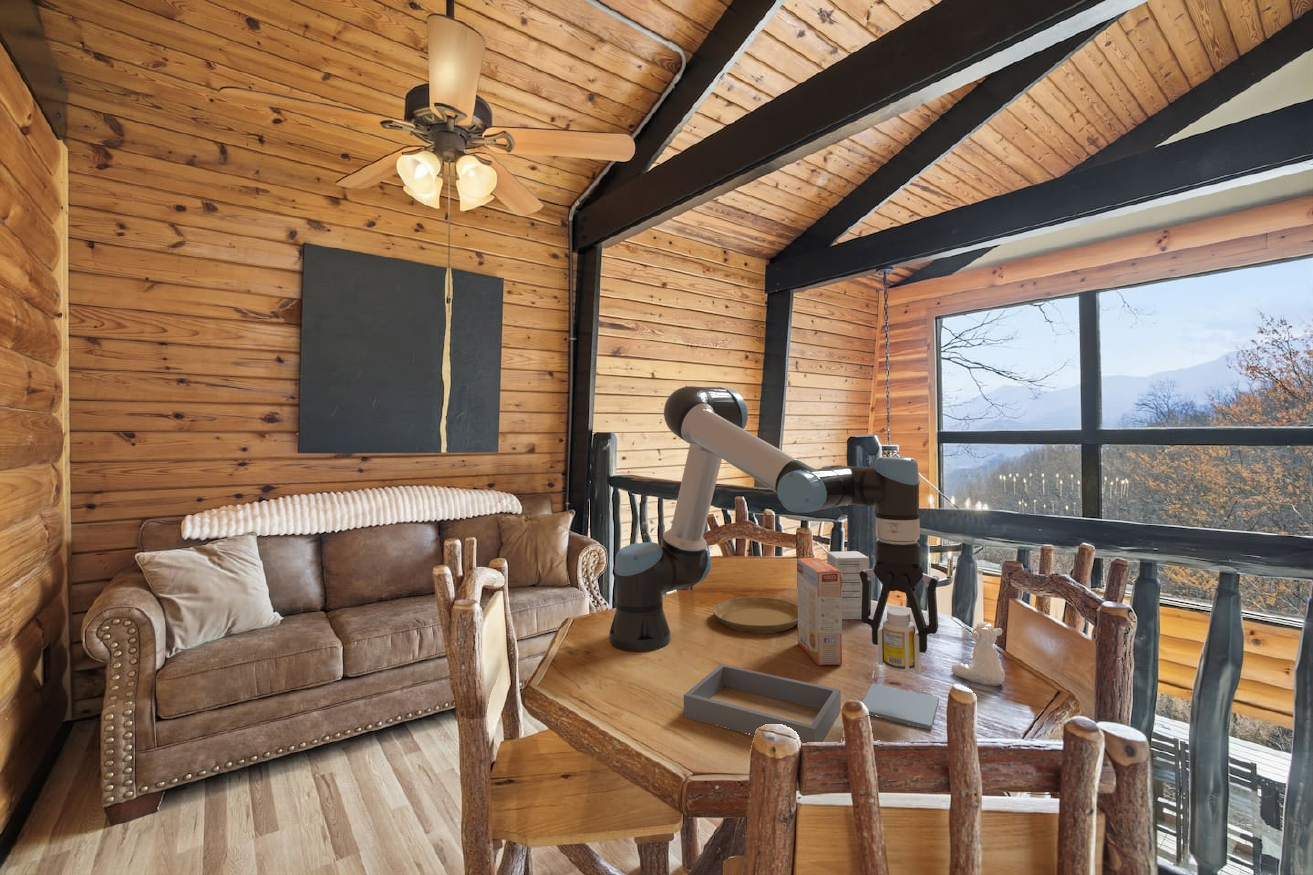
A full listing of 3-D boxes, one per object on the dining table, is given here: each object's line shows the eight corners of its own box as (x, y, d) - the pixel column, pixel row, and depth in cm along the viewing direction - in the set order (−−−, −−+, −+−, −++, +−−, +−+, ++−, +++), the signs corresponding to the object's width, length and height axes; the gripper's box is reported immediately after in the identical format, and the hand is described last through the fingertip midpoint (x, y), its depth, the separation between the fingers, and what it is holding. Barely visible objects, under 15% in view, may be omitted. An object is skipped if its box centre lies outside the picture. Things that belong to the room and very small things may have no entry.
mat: (858, 713, 105) (858, 708, 105) (872, 687, 115) (872, 683, 115) (931, 730, 98) (931, 725, 98) (938, 701, 109) (938, 697, 109)
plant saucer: (721, 639, 144) (721, 626, 144) (707, 609, 168) (707, 598, 168) (816, 635, 145) (816, 622, 145) (789, 606, 169) (789, 595, 169)
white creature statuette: (990, 669, 123) (990, 613, 123) (1021, 687, 114) (1021, 627, 114) (949, 672, 121) (949, 616, 121) (978, 691, 113) (977, 630, 113)
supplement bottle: (908, 660, 109) (907, 607, 109) (921, 673, 104) (920, 616, 104) (878, 661, 109) (877, 607, 109) (890, 673, 104) (889, 617, 104)
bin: (683, 716, 105) (683, 694, 104) (721, 683, 118) (721, 663, 118) (815, 753, 92) (815, 729, 92) (840, 711, 106) (840, 689, 105)
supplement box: (871, 619, 155) (870, 557, 155) (837, 620, 156) (836, 558, 155) (859, 608, 165) (858, 550, 165) (827, 609, 165) (826, 550, 165)
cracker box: (844, 665, 126) (842, 570, 126) (817, 667, 125) (815, 571, 125) (821, 642, 140) (820, 556, 140) (797, 643, 139) (796, 557, 139)
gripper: (841, 539, 108) (843, 662, 108) (952, 548, 98) (954, 683, 99) (850, 533, 114) (852, 649, 115) (955, 541, 105) (957, 668, 105)
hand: (899, 665), depth 107 cm, fingers closed on supplement bottle, 6 cm apart
